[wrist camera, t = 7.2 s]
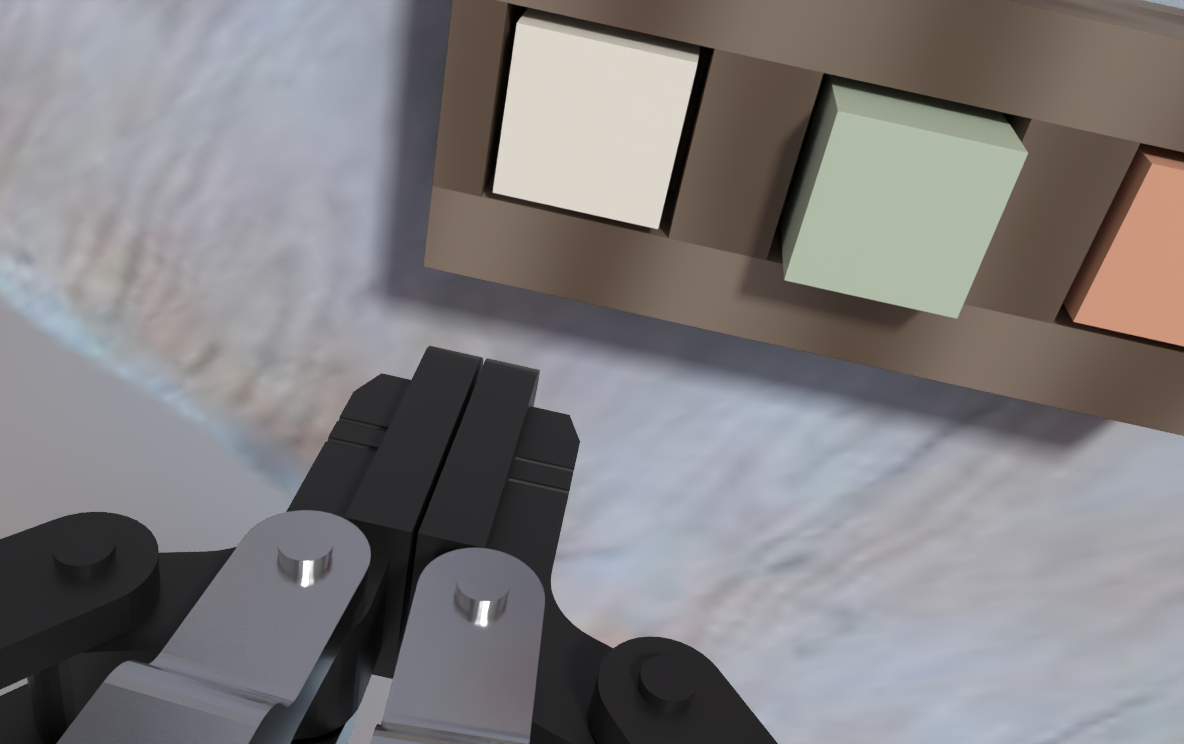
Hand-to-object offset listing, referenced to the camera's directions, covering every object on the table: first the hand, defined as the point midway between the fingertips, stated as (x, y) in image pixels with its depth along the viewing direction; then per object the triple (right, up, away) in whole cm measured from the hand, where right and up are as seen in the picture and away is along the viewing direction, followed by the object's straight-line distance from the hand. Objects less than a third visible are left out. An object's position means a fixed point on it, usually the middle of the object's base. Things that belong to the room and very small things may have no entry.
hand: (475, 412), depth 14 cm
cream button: (+2, +8, +12) cm, 15 cm away
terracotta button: (+16, +5, +12) cm, 20 cm away
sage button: (+9, +5, +11) cm, 15 cm away
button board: (+9, +7, +13) cm, 17 cm away
